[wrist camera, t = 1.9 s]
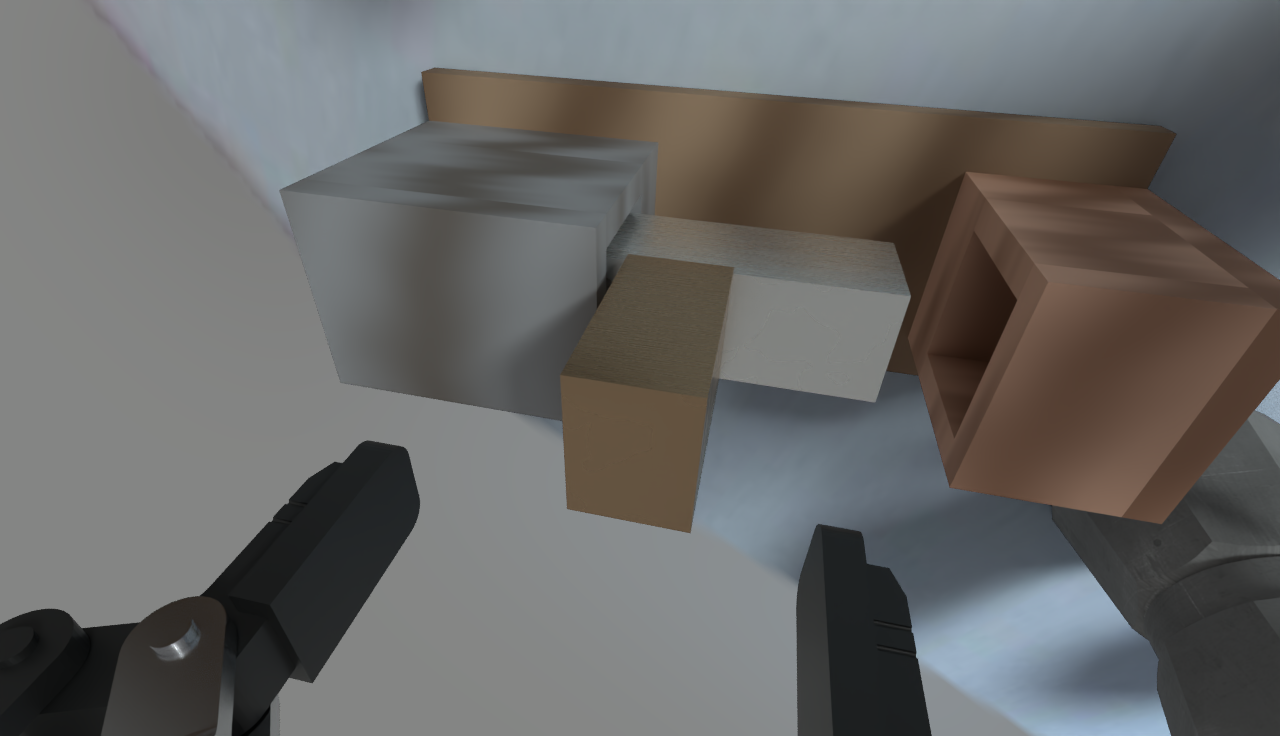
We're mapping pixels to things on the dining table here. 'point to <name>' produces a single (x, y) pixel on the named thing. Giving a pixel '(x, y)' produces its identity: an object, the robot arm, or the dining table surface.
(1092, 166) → the block assembly on base
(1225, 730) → the coffeepot
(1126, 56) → the dining table surface
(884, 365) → the two-tone wooden block
